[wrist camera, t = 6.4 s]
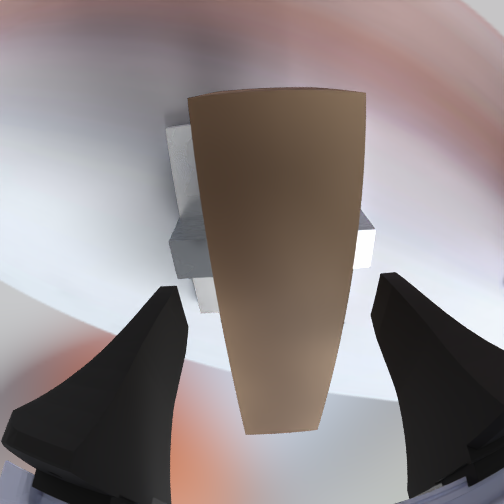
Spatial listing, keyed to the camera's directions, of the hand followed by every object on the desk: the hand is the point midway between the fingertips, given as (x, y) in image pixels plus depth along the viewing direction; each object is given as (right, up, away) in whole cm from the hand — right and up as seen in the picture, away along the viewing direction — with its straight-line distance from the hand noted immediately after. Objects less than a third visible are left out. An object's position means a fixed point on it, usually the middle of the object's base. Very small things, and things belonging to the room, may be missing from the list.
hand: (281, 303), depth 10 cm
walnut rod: (0, +2, +3) cm, 3 cm away
